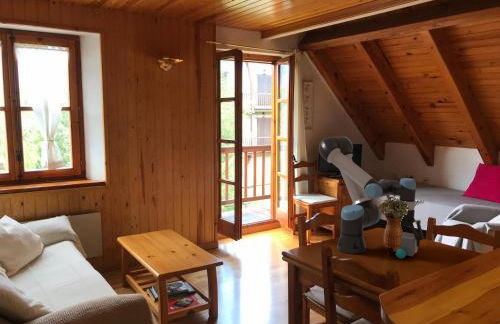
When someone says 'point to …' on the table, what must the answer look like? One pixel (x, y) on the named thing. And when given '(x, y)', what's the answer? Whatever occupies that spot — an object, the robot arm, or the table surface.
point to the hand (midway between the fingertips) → (404, 250)
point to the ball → (400, 253)
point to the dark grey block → (408, 243)
